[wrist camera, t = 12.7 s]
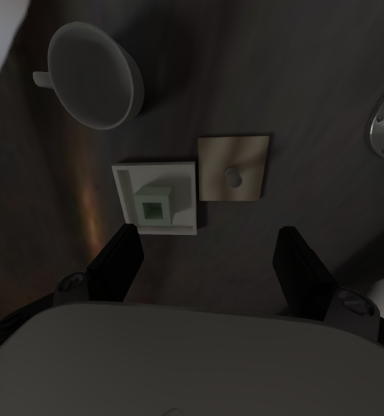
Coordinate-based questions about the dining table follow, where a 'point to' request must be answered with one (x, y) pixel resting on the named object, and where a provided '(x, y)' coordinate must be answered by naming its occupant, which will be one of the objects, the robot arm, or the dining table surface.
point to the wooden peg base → (231, 167)
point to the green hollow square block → (155, 214)
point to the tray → (159, 176)
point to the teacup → (93, 76)
